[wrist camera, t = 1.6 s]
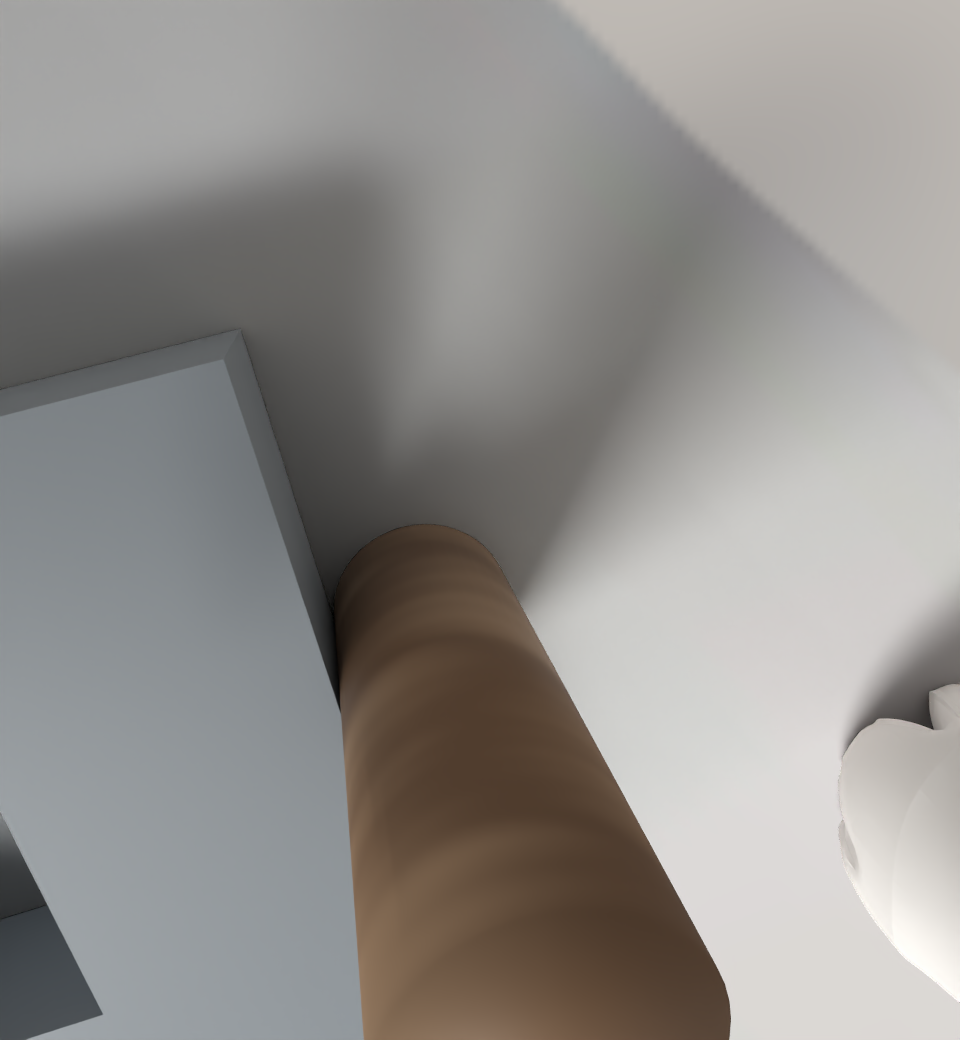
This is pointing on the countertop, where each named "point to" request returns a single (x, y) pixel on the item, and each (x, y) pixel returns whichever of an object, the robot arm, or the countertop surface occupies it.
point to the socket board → (168, 715)
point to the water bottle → (908, 833)
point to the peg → (493, 824)
